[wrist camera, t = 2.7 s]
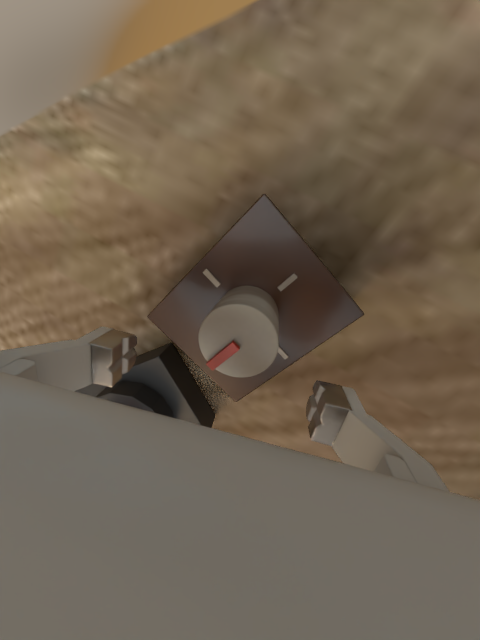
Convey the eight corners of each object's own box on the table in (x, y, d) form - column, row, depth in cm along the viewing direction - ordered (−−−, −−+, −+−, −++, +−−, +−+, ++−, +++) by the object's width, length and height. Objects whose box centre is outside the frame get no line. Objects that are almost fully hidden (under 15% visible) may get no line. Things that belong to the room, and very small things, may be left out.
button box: (172, 342, 22) (147, 368, 18) (215, 415, 24) (202, 453, 20) (88, 376, 25) (50, 405, 21) (133, 438, 27) (108, 475, 23)
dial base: (266, 199, 17) (264, 192, 14) (352, 301, 18) (366, 315, 15) (163, 305, 21) (145, 317, 18) (240, 381, 22) (235, 404, 20)
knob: (249, 271, 16) (237, 287, 11) (292, 319, 16) (297, 351, 12) (205, 312, 17) (179, 340, 13) (245, 354, 18) (235, 394, 14)
